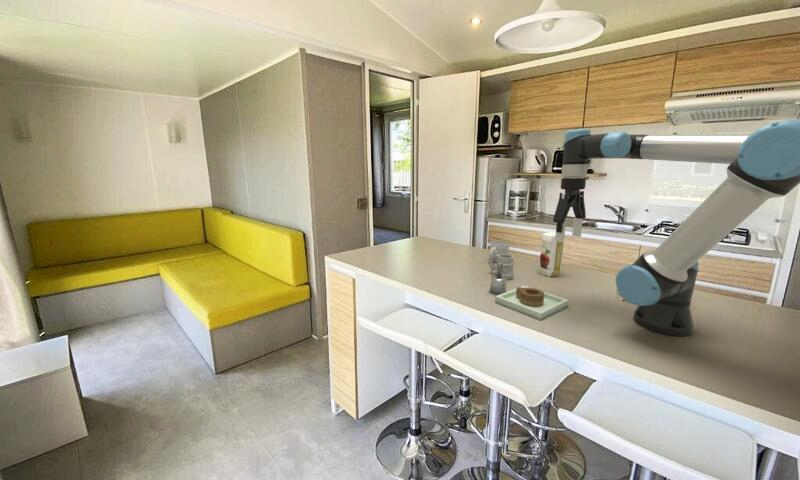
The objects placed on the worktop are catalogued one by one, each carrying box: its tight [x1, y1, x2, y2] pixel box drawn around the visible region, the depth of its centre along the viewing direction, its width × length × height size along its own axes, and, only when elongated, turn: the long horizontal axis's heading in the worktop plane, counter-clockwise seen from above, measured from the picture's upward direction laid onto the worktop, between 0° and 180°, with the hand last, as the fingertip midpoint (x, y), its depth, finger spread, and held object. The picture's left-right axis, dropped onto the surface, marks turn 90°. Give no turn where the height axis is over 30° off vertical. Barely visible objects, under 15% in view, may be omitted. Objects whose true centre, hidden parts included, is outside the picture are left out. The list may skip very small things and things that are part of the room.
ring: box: [516, 286, 544, 307], centre depth 123 cm, size 10×8×4 cm
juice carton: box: [538, 231, 566, 278], centre depth 154 cm, size 8×9×19 cm
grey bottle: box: [489, 262, 508, 296], centre depth 133 cm, size 6×6×12 cm
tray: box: [494, 285, 570, 321], centre depth 123 cm, size 18×18×2 cm
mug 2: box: [489, 249, 515, 281], centre depth 152 cm, size 8×12×12 cm, turn 39°
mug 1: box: [488, 240, 510, 263], centre depth 174 cm, size 13×9×10 cm
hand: (568, 239), depth 119 cm, fingers open, 13 cm apart
